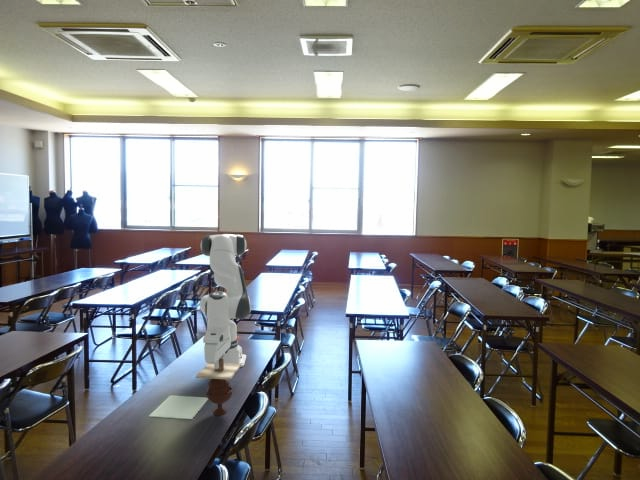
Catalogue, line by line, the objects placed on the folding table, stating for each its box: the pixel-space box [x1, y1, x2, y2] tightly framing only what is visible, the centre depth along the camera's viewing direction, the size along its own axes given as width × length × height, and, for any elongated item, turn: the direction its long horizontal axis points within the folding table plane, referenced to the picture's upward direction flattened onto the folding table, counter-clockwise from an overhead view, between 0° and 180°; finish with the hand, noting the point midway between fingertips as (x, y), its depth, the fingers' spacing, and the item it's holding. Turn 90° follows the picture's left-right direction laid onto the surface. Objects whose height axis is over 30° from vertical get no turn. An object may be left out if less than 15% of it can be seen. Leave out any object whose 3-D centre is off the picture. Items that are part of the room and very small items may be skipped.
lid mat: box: [148, 394, 209, 420], centre depth 175 cm, size 18×18×1 cm
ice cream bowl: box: [205, 379, 234, 416], centre depth 171 cm, size 11×11×15 cm
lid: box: [195, 359, 242, 381], centre depth 170 cm, size 14×14×5 cm
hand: (219, 365), depth 170 cm, fingers closed on lid, 4 cm apart
